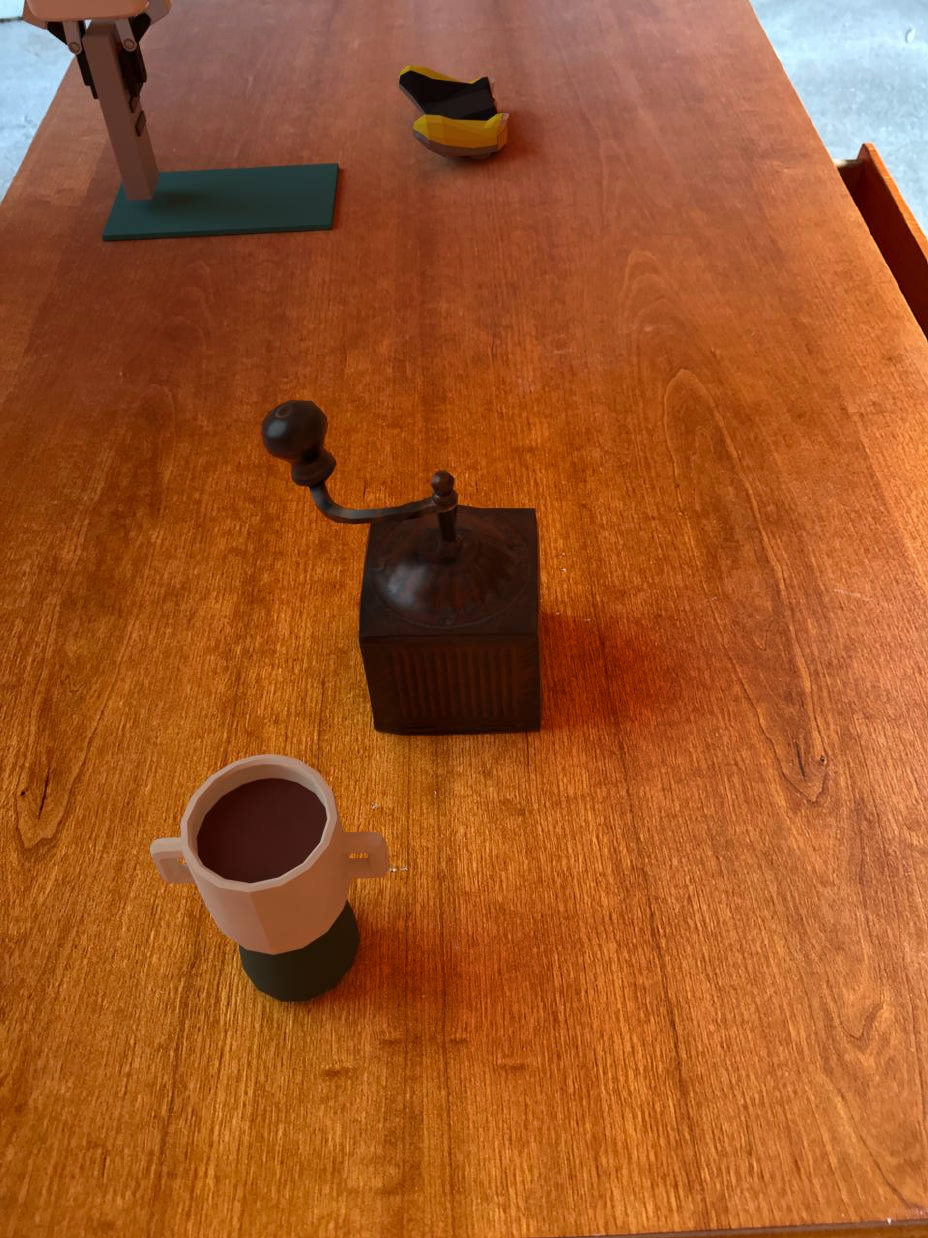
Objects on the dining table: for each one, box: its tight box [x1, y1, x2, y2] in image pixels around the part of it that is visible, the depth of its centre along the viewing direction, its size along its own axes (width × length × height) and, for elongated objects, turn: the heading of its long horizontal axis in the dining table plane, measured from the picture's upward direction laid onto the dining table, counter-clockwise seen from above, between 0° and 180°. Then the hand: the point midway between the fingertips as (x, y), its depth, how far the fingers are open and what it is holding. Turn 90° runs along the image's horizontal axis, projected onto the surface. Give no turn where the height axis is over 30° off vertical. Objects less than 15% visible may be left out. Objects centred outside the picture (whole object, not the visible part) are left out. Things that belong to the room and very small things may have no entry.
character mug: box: [149, 753, 391, 1003], centre depth 55 cm, size 11×7×13 cm, turn 90°
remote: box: [82, 18, 160, 201], centre depth 106 cm, size 3×5×15 cm, turn 1°
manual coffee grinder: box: [260, 399, 544, 736], centre depth 66 cm, size 16×11×18 cm
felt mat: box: [101, 162, 340, 242], centre depth 113 cm, size 22×12×1 cm, turn 91°
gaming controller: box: [398, 64, 510, 160], centre depth 118 cm, size 15×6×10 cm
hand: (118, 89), depth 104 cm, fingers closed on remote, 2 cm apart
